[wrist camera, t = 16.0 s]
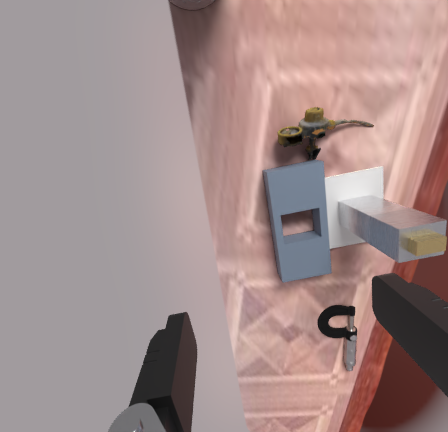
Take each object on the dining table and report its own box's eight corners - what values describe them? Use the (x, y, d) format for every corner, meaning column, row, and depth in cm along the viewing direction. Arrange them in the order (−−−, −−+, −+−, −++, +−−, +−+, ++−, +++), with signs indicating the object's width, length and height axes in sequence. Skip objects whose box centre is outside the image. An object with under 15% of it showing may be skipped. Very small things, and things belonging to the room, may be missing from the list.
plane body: (262, 170, 36) (266, 172, 34) (314, 159, 36) (323, 161, 33) (277, 272, 42) (282, 282, 39) (323, 264, 42) (331, 273, 39)
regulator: (370, 99, 35) (274, 108, 32) (391, 105, 32) (287, 115, 29) (355, 149, 39) (269, 160, 37) (372, 158, 36) (280, 171, 34)
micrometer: (316, 305, 45) (322, 314, 42) (354, 300, 45) (362, 309, 42) (316, 367, 49) (322, 378, 47) (351, 362, 49) (358, 374, 47)
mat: (322, 177, 37) (324, 178, 37) (380, 166, 37) (383, 166, 36) (328, 247, 41) (329, 248, 40) (380, 237, 40) (383, 238, 40)
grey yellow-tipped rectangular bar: (338, 200, 38) (408, 233, 24) (370, 194, 38) (457, 223, 24) (339, 224, 39) (406, 268, 25) (370, 218, 39) (454, 259, 25)
